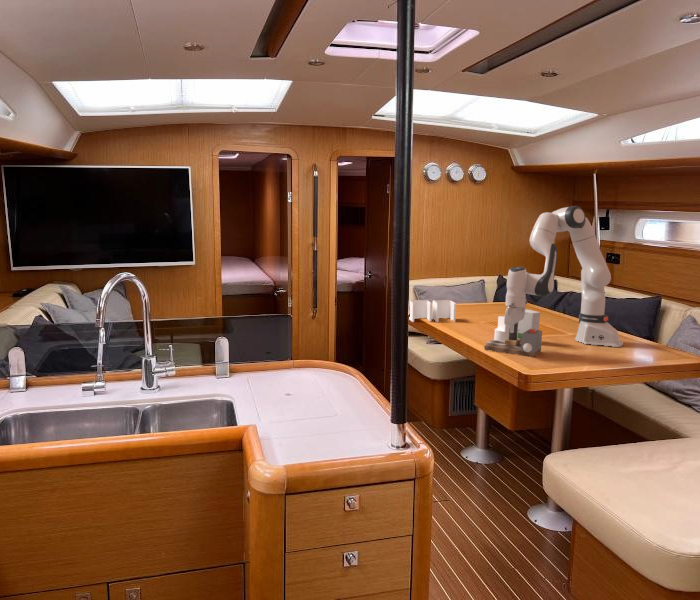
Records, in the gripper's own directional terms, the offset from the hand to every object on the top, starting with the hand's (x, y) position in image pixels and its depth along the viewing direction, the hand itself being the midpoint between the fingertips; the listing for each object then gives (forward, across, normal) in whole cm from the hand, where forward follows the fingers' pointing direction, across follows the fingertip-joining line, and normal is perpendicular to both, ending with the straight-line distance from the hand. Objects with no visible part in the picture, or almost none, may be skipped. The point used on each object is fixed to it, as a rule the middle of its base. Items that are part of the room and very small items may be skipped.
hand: (513, 331), depth 289 cm
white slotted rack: (+9, +47, +61) cm, 78 cm away
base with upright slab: (+9, +17, +10) cm, 22 cm away
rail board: (+9, 0, 0) cm, 9 cm away
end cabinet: (+9, 0, -9) cm, 12 cm away
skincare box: (+9, +24, 0) cm, 26 cm away
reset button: (+1, 0, -9) cm, 9 cm away
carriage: (+6, 0, 0) cm, 6 cm away
